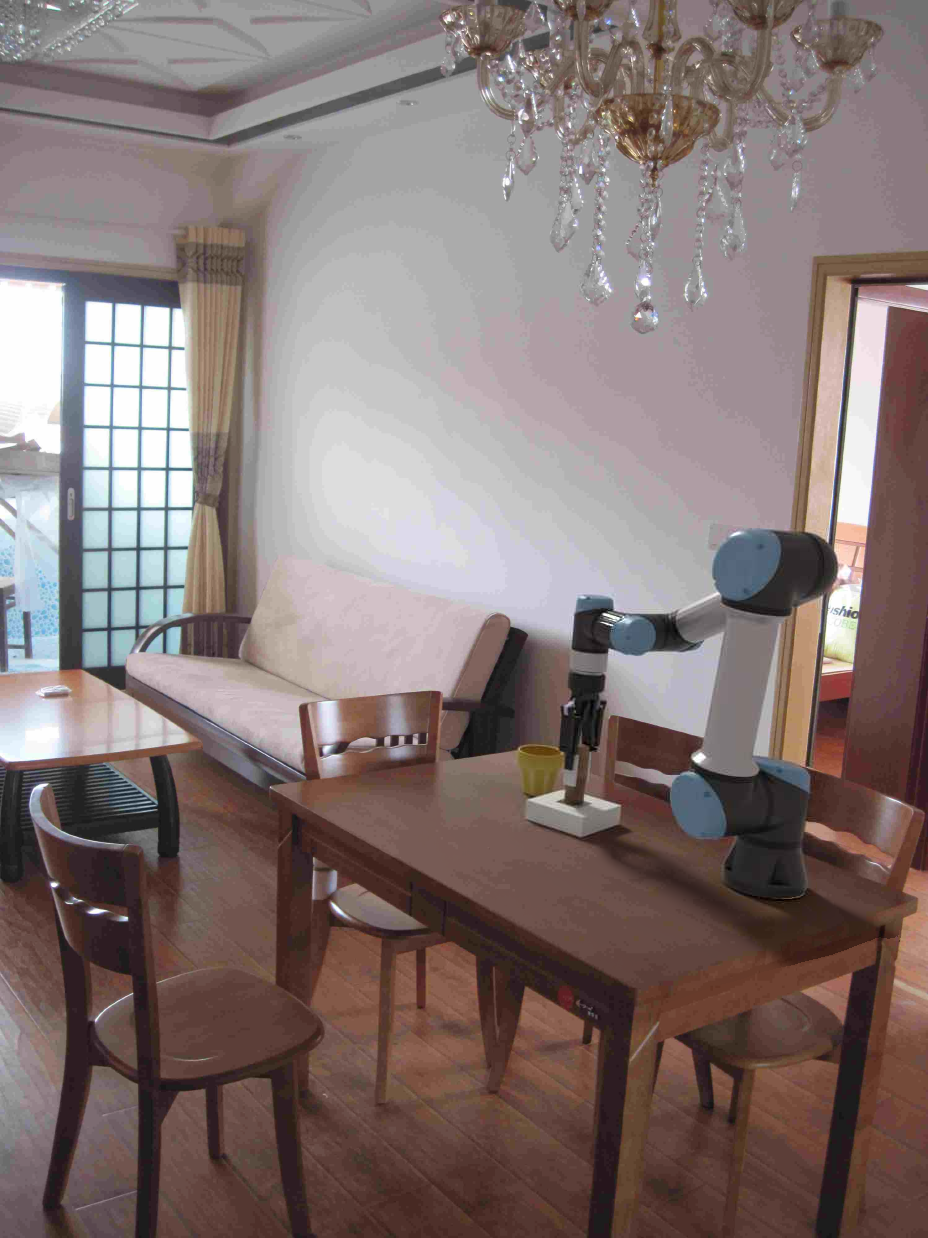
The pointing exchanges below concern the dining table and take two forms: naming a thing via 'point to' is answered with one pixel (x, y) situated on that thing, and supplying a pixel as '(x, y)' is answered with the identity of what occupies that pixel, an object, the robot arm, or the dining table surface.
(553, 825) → the socket block
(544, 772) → the plant pot
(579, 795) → the peg
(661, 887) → the dining table surface
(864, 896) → the dining table surface
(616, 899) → the dining table surface
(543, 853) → the dining table surface
